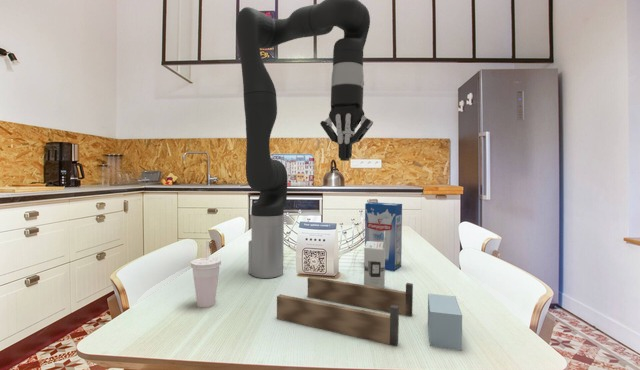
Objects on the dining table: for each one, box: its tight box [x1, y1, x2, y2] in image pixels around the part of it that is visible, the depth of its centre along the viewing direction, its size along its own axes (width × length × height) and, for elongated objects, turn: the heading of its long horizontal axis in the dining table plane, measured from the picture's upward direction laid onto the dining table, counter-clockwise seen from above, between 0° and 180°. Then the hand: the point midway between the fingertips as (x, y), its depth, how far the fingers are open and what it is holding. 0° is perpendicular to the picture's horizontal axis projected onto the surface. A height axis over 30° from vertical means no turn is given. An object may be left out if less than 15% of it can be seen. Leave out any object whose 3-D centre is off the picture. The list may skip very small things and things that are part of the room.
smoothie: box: [190, 240, 222, 308], centre depth 73 cm, size 6×6×14 cm
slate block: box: [427, 293, 463, 351], centre depth 60 cm, size 5×9×6 cm, turn 164°
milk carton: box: [364, 201, 403, 272], centre depth 105 cm, size 10×6×20 cm, turn 58°
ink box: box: [363, 231, 386, 288], centre depth 82 cm, size 9×5×15 cm, turn 168°
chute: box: [276, 276, 414, 347], centre depth 68 cm, size 24×14×6 cm, turn 64°
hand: (345, 160), depth 78 cm, fingers closed
